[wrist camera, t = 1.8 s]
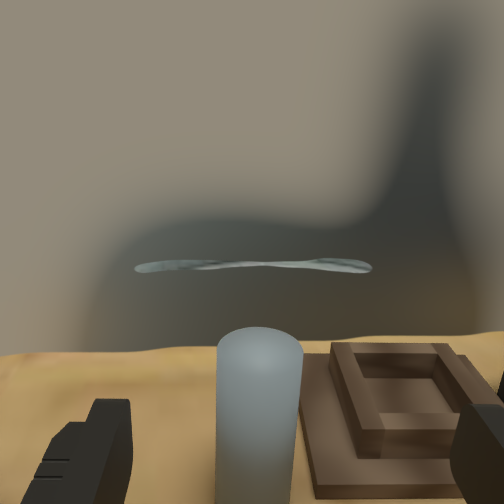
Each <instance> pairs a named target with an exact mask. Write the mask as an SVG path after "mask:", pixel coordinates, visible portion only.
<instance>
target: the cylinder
mask: <svg viewBox="0 0 504 504" xmlns="http://www.w3.org/2000/svg"><path fill="white" fill-rule="evenodd" d="M303 354H304V353H303V348H302V346H301V345H300V343H299V342H298V341H297V340H296V339H295V338H294V337H292V336H290V335H289V334H287V333H285V332H282V331H279V330H276V329H272V328H265V327H249V328H243V329H239V330H236V331H233V332H231V333H229V334H227V335H226V336H224V338H222V339H221V340H220V342H219V344H218V346H217V384H216V464H215V504H289V500H290V490H291V480H292V469H293V459H294V448H295V438H296V427H297V417H298V406H299V396H300V386H301V375H302V365H303Z"/></svg>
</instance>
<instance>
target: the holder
mask: <svg viewBox="0 0 504 504" xmlns="http://www.w3.org/2000/svg"><path fill="white" fill-rule="evenodd" d="M465 404H498V405H500V406H502V407H503V408H504V403H503V402H502V401H501V399H500V398H499V397H498V396H497V394H496V393H495V392H494V391H493V389H492V388H491V387H490V386H489V385H488V383H487V382H486V381H485V380H484V378H483V377H482V376H481V375H480V373H479V372H478V371H477V370H476V368H475V367H474V366H473V365H472V363H471V362H470V361H469V360H468V358H467V357H466V356H465V355H456V354H455V352H454V351H453V350H452V349H451V347H450V346H449V345H448V343H352V342H331V348H330V354H310V353H304V354H303V365H302V375H301V386H300V396H299V406H298V409H299V414H300V419H301V424H302V429H303V435H304V440H305V445H306V450H307V455H308V460H309V466H310V471H311V476H312V481H313V486H314V491H315V497H316V499H378V498H464V497H463V495H462V493H461V491H460V490H459V488H458V486H457V484H456V482H455V480H454V478H453V475H452V472H451V468H450V450H451V446H452V442H453V439H454V435H455V431H456V427H457V424H458V420H459V416H460V412H461V409H462V407H463V406H464V405H465Z"/></svg>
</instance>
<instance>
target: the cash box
mask: <svg viewBox="0 0 504 504" xmlns="http://www.w3.org/2000/svg"><path fill="white" fill-rule="evenodd" d="M497 396H498V397H499V398H500V399H501V401H502V402H503V403H504V372H503V375H502V379H501V382H500V386H499V389H498V393H497Z"/></svg>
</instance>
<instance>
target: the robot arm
mask: <svg viewBox="0 0 504 504" xmlns="http://www.w3.org/2000/svg"><path fill="white" fill-rule="evenodd" d="M132 462H133V441H132V425H131V409H130V401H129V399H96V400H95V401H94V403H93V405H92V407H91V410H90V412H89V414H88V417H87V419H86V422H69V423H68V424H67V425H66V426H65V427H64V428H63V429H62V430H61V431H60V432H58V433H57V434H56V435H55V436H54V437H53V438H52V440H51V442H50V444H49V446H48V448H47V450H46V452H45V454H44V456H43V458H42V463H40V464H39V466H38V468H37V471H36V473H35V475H34V479H33V480H32V481H31V483H30V485H29V487H28V489H27V491H26V493H25V495H24V497H23V499H22V501H21V503H20V504H124V501H125V497H126V493H127V489H128V485H129V481H130V476H131V470H132ZM450 468H451V472H452V475H453V478H454V480H455V482H456V484H457V486H458V488H459V490H460V491H461V493H462V495H463V497H464V499H465V501H466V503H467V504H504V408H503V407H502V406H500V405H498V404H465V405H464V406H463V407H462V409H461V412H460V416H459V420H458V424H457V427H456V431H455V435H454V439H453V442H452V446H451V450H450Z"/></svg>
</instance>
